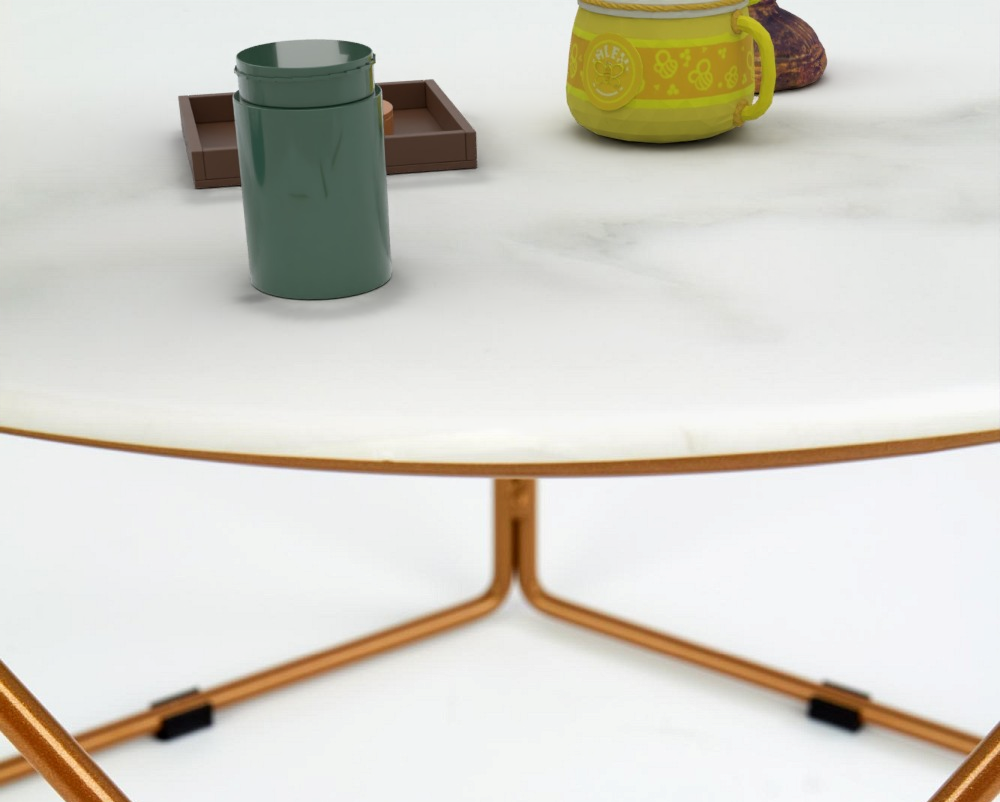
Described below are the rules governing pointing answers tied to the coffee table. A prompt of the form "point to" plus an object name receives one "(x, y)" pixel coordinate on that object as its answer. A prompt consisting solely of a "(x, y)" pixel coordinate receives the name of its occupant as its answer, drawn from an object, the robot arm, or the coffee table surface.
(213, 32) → the coffee table surface
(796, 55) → the dark brown rounded piece
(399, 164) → the tray
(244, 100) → the jar
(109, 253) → the coffee table surface
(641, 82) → the mug
